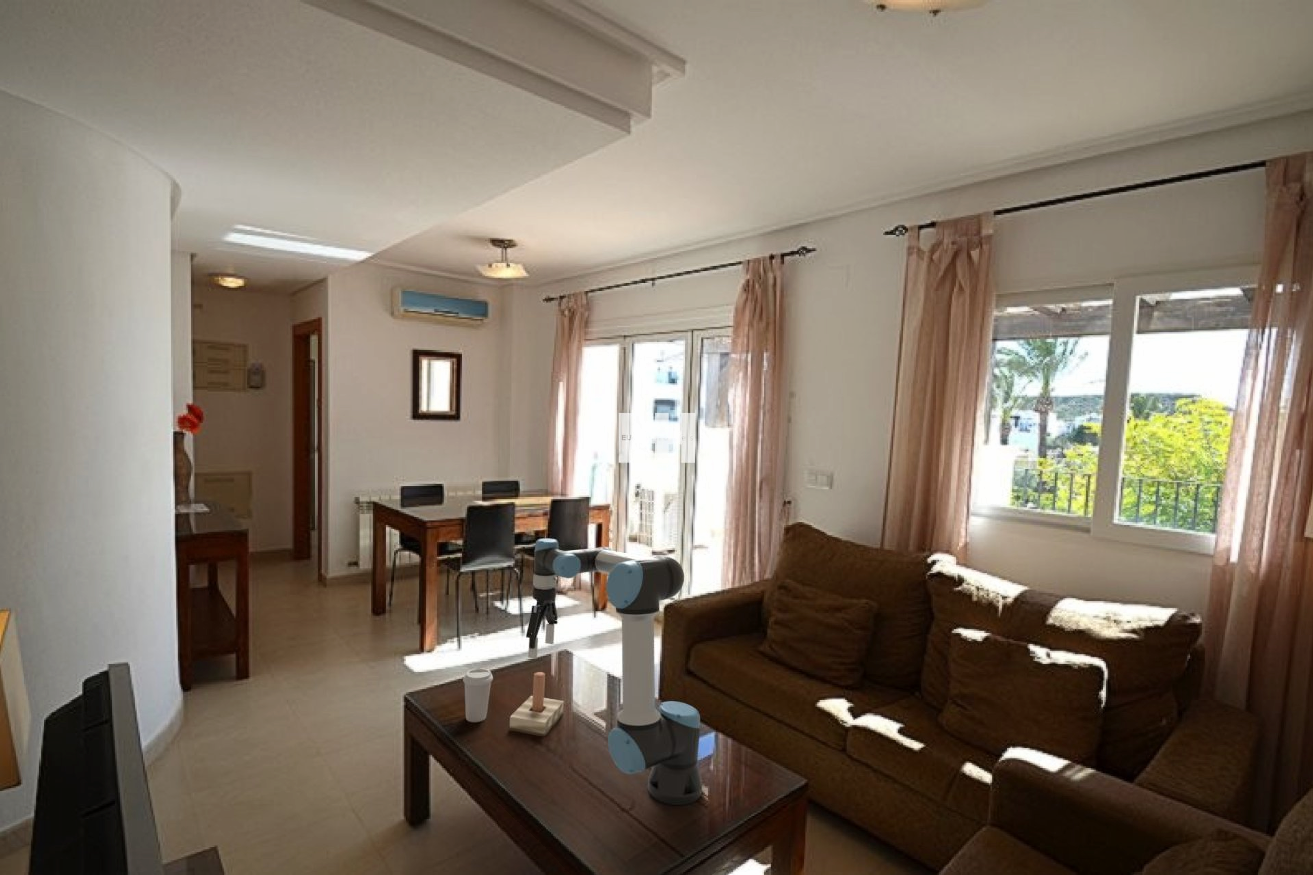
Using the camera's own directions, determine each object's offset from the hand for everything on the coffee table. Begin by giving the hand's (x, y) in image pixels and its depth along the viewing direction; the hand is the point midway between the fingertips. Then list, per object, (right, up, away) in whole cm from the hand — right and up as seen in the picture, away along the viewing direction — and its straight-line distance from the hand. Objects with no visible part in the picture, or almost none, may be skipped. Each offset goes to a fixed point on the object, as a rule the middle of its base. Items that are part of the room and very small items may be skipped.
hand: (541, 650), depth 206 cm
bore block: (-2, -24, +1) cm, 24 cm away
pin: (-2, -23, +1) cm, 23 cm away
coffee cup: (-22, -23, +1) cm, 32 cm away
